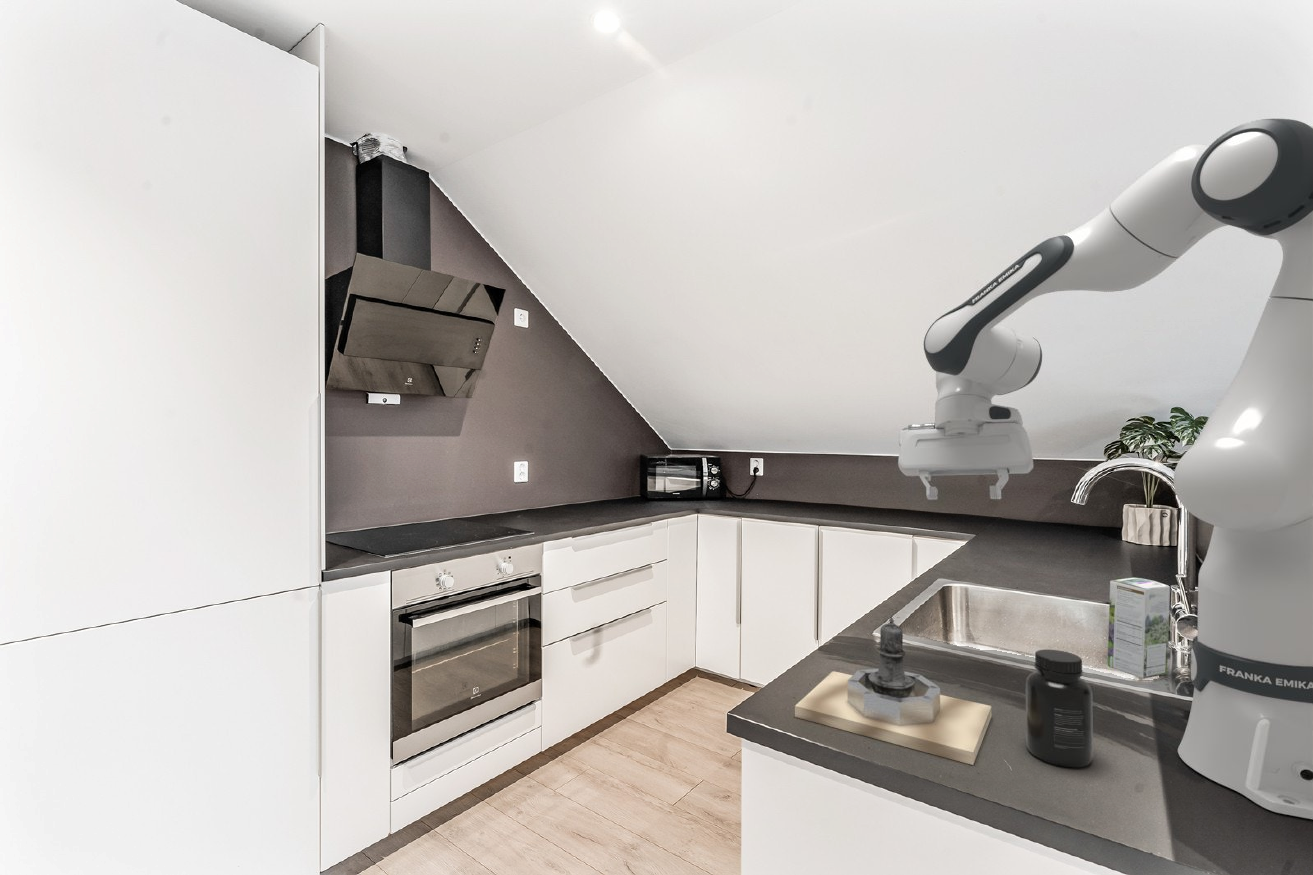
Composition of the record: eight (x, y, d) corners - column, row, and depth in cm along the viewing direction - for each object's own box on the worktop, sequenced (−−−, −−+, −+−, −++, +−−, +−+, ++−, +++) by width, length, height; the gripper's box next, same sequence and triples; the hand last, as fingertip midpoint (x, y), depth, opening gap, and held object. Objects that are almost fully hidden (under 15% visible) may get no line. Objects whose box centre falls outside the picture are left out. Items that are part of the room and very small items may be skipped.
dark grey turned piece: (904, 719, 84) (904, 627, 83) (860, 706, 88) (861, 618, 87) (920, 704, 88) (921, 617, 88) (879, 692, 92) (879, 608, 92)
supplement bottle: (1098, 754, 78) (1099, 655, 77) (1084, 776, 73) (1085, 671, 73) (1034, 735, 82) (1035, 642, 82) (1017, 754, 78) (1018, 655, 77)
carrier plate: (991, 717, 88) (991, 706, 87) (973, 765, 75) (973, 752, 75) (832, 680, 100) (832, 671, 100) (794, 716, 88) (794, 705, 88)
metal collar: (945, 701, 89) (945, 679, 89) (927, 733, 80) (927, 709, 80) (864, 683, 95) (864, 663, 95) (839, 710, 86) (839, 688, 86)
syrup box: (1130, 662, 108) (1131, 575, 107) (1169, 675, 102) (1170, 584, 102) (1106, 667, 106) (1107, 578, 105) (1145, 680, 100) (1146, 587, 100)
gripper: (895, 418, 113) (892, 492, 108) (1029, 408, 102) (1032, 490, 97) (903, 432, 118) (900, 504, 113) (1032, 425, 107) (1035, 504, 102)
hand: (962, 498), depth 105 cm, fingers open, 8 cm apart
